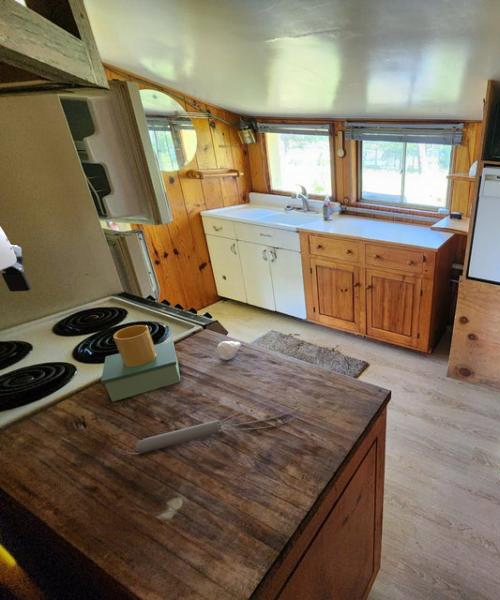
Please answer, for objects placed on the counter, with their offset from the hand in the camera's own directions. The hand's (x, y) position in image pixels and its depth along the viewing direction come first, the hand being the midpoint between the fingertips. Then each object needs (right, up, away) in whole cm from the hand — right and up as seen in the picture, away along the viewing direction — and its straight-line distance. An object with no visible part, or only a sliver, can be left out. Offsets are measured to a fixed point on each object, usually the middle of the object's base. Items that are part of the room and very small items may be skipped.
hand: (1, 300), depth 63 cm
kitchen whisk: (+40, -30, +7) cm, 50 cm away
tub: (+11, -21, +22) cm, 33 cm away
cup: (+11, -15, +20) cm, 27 cm away
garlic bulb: (+28, -17, +34) cm, 47 cm away
